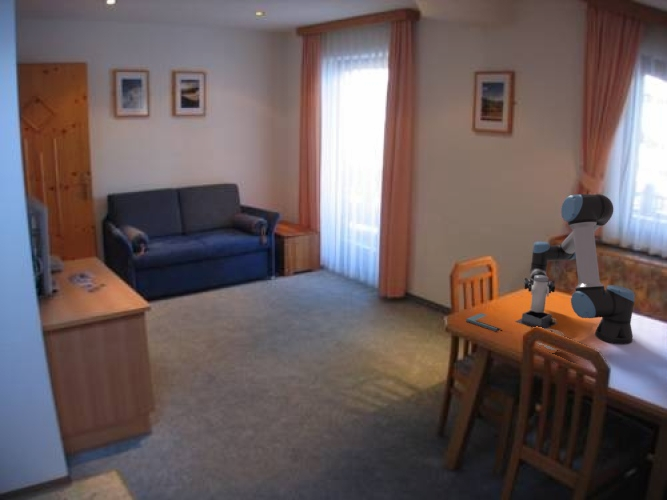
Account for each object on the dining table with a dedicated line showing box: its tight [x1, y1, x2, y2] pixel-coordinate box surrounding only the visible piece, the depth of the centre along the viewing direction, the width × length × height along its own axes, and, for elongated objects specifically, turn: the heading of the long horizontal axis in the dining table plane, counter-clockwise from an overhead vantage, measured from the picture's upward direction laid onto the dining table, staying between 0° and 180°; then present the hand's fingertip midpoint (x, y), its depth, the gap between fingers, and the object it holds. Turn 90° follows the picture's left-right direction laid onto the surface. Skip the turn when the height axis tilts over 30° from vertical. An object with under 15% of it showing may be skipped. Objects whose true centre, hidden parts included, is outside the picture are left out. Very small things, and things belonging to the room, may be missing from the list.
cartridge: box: [530, 275, 549, 313], centre depth 290 cm, size 6×6×16 cm
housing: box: [514, 309, 558, 329], centre depth 293 cm, size 14×14×6 cm
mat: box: [465, 312, 501, 332], centre depth 295 cm, size 16×12×1 cm
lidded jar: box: [537, 328, 566, 350], centre depth 265 cm, size 11×11×9 cm
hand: (540, 292), depth 285 cm, fingers closed on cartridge, 6 cm apart
